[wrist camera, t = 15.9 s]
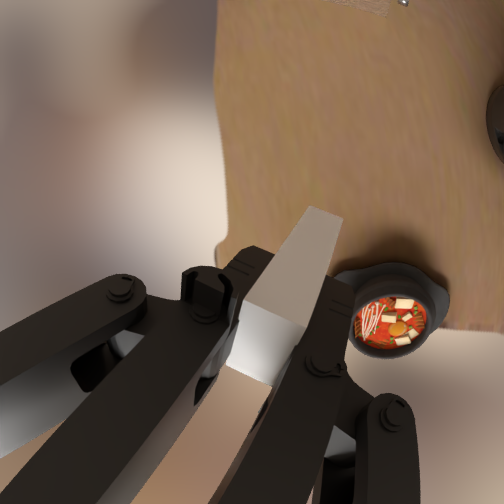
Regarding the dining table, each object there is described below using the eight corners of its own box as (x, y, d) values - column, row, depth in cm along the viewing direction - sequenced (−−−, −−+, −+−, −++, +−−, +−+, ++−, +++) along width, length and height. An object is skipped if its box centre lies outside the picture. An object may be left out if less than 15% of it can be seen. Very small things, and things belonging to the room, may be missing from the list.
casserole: (318, 324, 56) (311, 353, 49) (334, 244, 47) (329, 269, 40) (427, 343, 48) (431, 372, 41) (461, 269, 40) (474, 296, 33)
